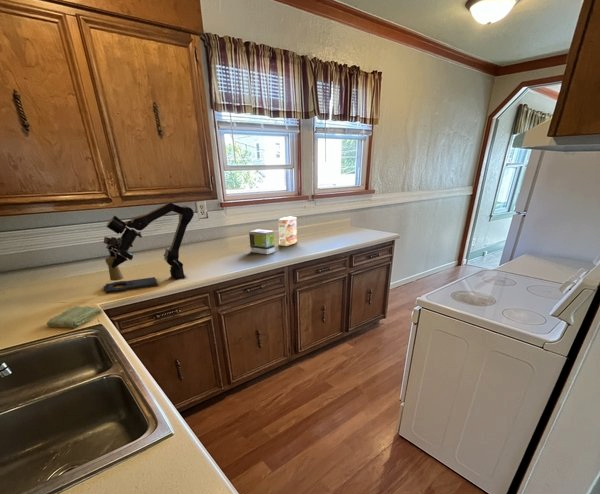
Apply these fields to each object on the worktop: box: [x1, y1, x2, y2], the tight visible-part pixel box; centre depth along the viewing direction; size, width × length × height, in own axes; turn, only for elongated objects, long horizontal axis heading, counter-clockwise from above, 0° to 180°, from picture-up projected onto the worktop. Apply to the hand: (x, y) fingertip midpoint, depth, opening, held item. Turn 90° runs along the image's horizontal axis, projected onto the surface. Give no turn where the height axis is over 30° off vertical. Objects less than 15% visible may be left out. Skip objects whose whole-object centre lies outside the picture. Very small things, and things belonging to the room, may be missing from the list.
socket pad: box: [103, 276, 158, 294], centre depth 170 cm, size 25×14×2 cm, turn 117°
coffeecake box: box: [278, 216, 298, 247], centre depth 251 cm, size 15×7×20 cm, turn 147°
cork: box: [105, 256, 125, 282], centre depth 162 cm, size 6×6×11 cm
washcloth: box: [46, 305, 103, 329], centre depth 134 cm, size 13×18×3 cm
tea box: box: [248, 229, 276, 255], centre depth 230 cm, size 15×10×15 cm, turn 58°
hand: (110, 266), depth 160 cm, fingers closed on cork, 5 cm apart
